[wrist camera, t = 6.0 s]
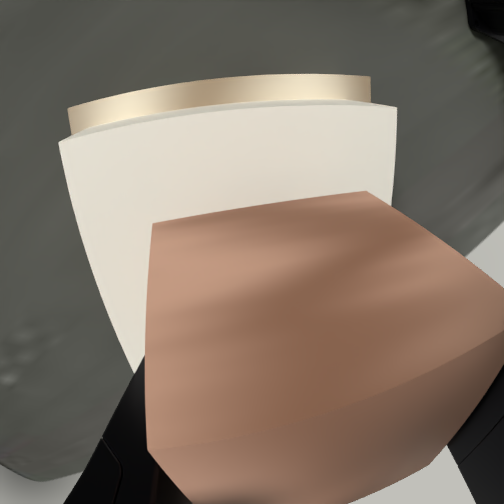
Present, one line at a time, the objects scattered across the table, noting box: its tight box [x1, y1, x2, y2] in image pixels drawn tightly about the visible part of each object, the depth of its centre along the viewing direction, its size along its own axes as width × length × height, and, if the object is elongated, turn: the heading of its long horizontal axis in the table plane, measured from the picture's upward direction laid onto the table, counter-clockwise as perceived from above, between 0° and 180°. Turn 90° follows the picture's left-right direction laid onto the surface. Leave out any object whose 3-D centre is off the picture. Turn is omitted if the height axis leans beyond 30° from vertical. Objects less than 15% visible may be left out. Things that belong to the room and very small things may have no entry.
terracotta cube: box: [145, 191, 504, 504], centre depth 7 cm, size 6×6×6 cm
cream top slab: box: [59, 99, 397, 374], centre depth 12 cm, size 10×10×4 cm
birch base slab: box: [68, 74, 371, 135], centre depth 15 cm, size 12×12×4 cm
